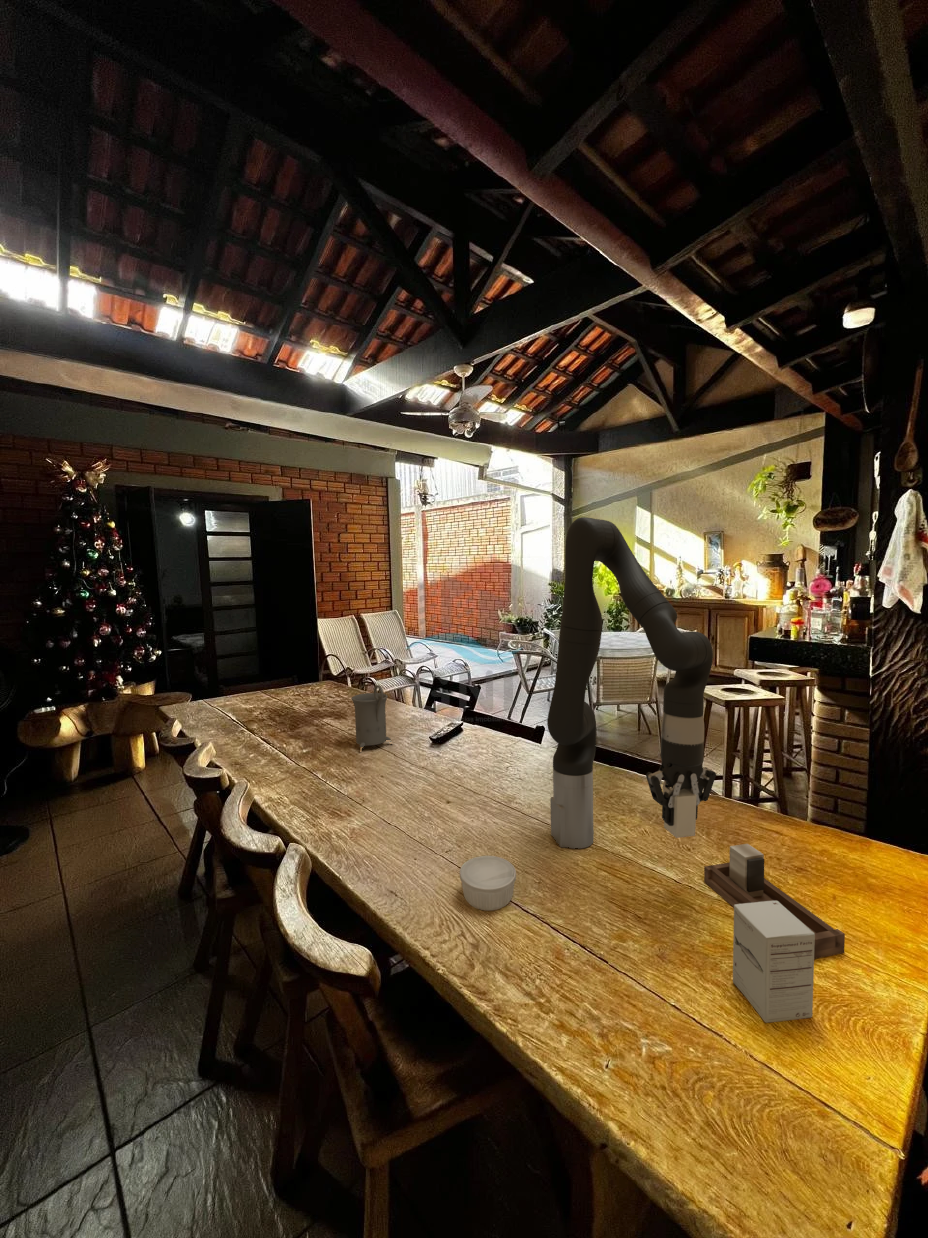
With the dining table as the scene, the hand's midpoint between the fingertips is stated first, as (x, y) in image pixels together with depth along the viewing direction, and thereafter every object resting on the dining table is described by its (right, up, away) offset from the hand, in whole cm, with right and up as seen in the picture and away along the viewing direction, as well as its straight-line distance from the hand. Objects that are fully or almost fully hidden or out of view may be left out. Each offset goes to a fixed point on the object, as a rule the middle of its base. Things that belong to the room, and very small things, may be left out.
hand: (679, 822), depth 96 cm
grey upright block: (0, -2, 0) cm, 2 cm away
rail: (+13, -14, -6) cm, 20 cm away
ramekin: (-37, -16, +2) cm, 40 cm away
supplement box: (+3, -16, -24) cm, 29 cm away
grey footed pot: (-77, -10, +95) cm, 122 cm away
